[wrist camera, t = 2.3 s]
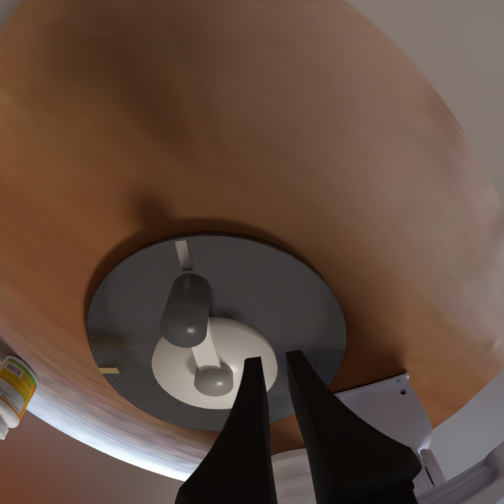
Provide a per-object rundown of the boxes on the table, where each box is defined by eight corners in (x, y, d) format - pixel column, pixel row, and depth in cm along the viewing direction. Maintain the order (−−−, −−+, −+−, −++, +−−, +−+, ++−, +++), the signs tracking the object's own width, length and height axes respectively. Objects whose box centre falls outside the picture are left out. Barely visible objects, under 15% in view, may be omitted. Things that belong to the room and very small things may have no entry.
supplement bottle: (21, 385, 25) (-6, 439, 16) (-2, 354, 23) (-37, 407, 14) (46, 387, 25) (18, 448, 16) (21, 353, 23) (-16, 414, 14)
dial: (279, 393, 24) (287, 433, 20) (174, 403, 24) (169, 442, 20) (263, 259, 19) (273, 297, 15) (120, 280, 19) (96, 318, 14)
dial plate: (345, 210, 19) (351, 214, 18) (335, 406, 28) (337, 414, 27) (53, 257, 19) (46, 263, 18) (144, 426, 28) (142, 433, 27)
